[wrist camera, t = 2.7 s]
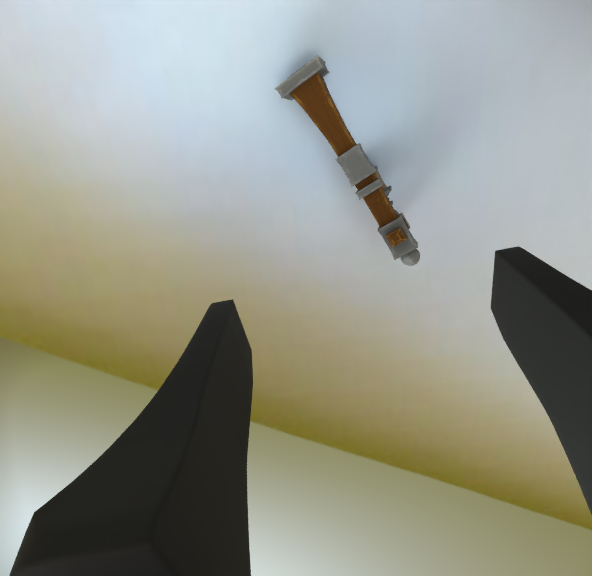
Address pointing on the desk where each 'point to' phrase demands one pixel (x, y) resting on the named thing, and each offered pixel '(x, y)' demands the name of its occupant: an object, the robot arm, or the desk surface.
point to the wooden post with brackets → (350, 156)
